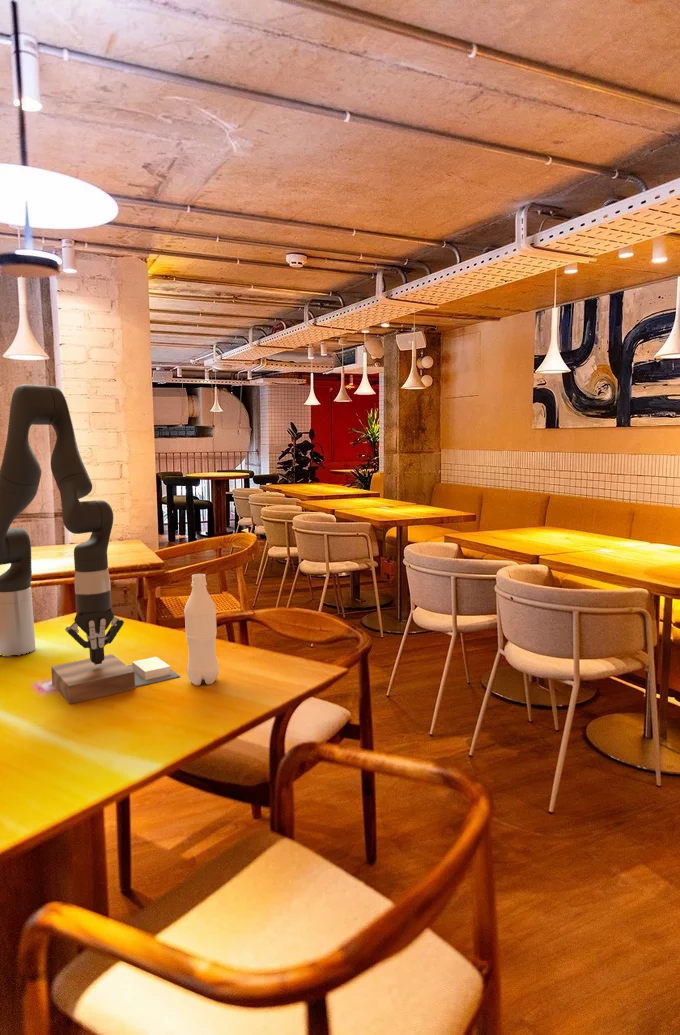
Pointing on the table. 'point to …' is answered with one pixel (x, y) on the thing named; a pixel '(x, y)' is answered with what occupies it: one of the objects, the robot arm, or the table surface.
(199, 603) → the water bottle
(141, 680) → the mat
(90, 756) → the table surface
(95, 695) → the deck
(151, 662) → the white flat block
